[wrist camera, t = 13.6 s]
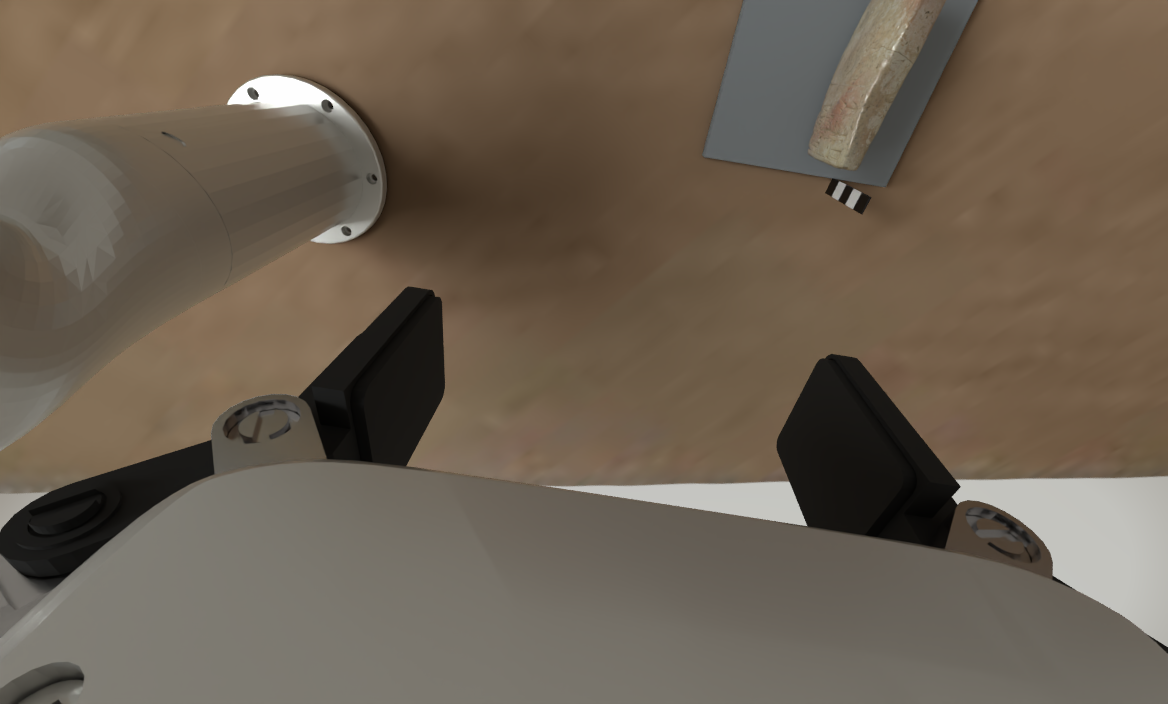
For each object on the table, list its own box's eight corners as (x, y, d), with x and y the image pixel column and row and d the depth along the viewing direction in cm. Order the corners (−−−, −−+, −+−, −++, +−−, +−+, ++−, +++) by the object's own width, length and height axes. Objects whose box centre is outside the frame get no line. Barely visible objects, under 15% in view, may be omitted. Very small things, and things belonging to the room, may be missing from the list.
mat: (702, 155, 34) (703, 156, 34) (775, -120, 26) (779, -125, 25) (880, 184, 34) (885, 187, 34) (1008, -78, 26) (1018, -82, 26)
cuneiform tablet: (863, 214, 30) (988, -15, 23) (809, 202, 29) (921, -34, 23) (826, 193, 34) (921, -2, 28) (779, 182, 34) (864, -17, 28)
